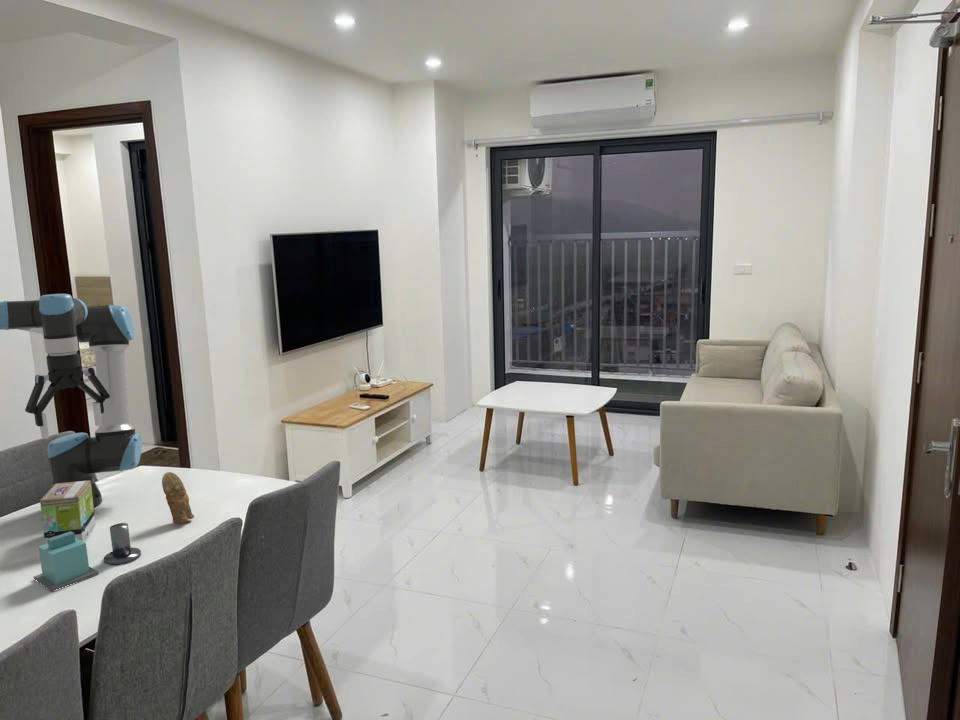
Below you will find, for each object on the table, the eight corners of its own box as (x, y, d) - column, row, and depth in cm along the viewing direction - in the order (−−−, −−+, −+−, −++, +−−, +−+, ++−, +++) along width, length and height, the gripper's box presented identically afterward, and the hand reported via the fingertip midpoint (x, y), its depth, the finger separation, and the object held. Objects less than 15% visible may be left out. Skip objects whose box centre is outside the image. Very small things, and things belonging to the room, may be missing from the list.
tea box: (84, 545, 200) (78, 496, 197) (44, 550, 197) (37, 500, 194) (96, 525, 214) (90, 478, 211) (59, 529, 211) (53, 482, 209)
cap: (75, 563, 187) (70, 526, 185) (89, 572, 182) (84, 534, 180) (42, 575, 180) (37, 537, 179) (56, 584, 176) (50, 545, 174)
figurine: (185, 526, 211) (180, 478, 209) (161, 525, 213) (156, 477, 210) (201, 515, 219) (197, 469, 217) (178, 514, 221) (173, 468, 218)
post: (97, 559, 191) (93, 528, 189) (130, 547, 198) (127, 517, 196) (114, 568, 185) (110, 536, 184) (147, 555, 192) (143, 524, 191)
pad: (33, 579, 180) (33, 576, 180) (78, 563, 189) (78, 560, 189) (52, 591, 174) (52, 588, 173) (98, 574, 182) (98, 571, 182)
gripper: (104, 345, 197) (113, 419, 201) (3, 359, 177) (15, 440, 181) (117, 347, 193) (126, 422, 196) (15, 362, 173) (27, 445, 177)
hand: (72, 431), depth 189 cm, fingers open, 13 cm apart
